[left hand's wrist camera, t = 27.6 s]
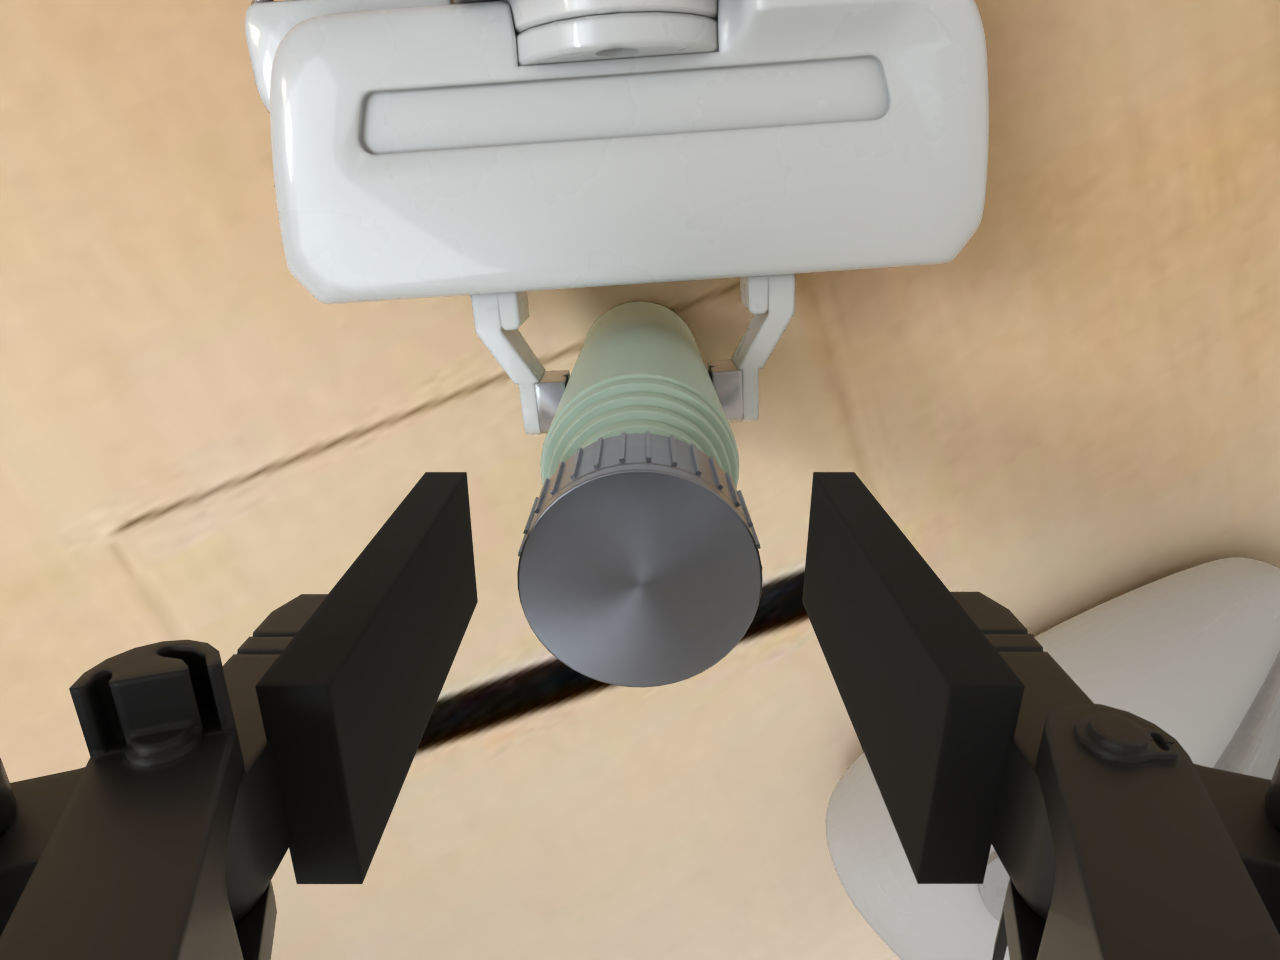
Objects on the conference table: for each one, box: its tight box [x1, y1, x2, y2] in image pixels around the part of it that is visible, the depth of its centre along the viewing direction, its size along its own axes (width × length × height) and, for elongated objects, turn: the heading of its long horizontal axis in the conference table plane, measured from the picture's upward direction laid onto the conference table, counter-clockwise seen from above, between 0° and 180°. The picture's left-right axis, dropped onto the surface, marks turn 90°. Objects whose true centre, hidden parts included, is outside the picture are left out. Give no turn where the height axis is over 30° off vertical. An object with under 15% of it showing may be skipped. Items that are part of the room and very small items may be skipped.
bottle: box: [541, 301, 739, 488], centre depth 22 cm, size 5×5×18 cm
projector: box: [826, 557, 1280, 960], centre depth 30 cm, size 22×23×15 cm
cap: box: [518, 431, 762, 687], centre depth 13 cm, size 4×4×2 cm
